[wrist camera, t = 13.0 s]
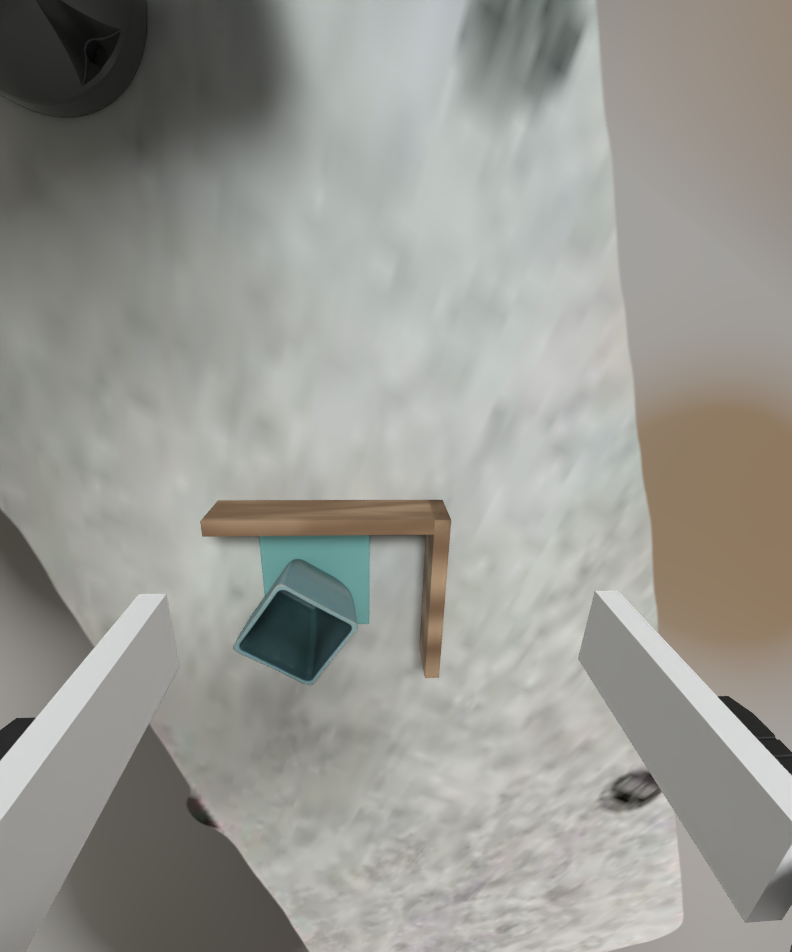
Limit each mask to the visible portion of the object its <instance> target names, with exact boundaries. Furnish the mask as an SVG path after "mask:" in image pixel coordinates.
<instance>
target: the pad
mask: <svg viewBox="0 0 792 952" xmlns="http://www.w3.org/2000/svg"><path fill="white" fill-rule="evenodd" d="M259 540H260V551H261V561H262V572H263V582H264V592H265V595H266V594H267V593H268V591H269V590H270V588H271V587H272V586H273V584H274V583H275V581H276V580H277V579H278V577H279V576H280V574H281V573H282V571H283V570H284V569H285V567H286V566H287V565H288V564H289V562H291V561H292V560H295V559H301V560H304V561H306V562H308V563H310V564H311V565H313V566H315V567H317V568H319V569H320V570H322V571H324V572H326V573H328V574H330V575H331V576H333V577H335V578H336V579H338V580H339V581H341V582H342V583H343V584H344V585H345V586H346V587H347V588H348V590H349V591H350V593H351V595H352V598H353V601H354V606H355V612H356V618H357V624H369V535H319V536H259Z"/></svg>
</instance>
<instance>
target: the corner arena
mask: <svg viewBox="0 0 792 952" xmlns="http://www.w3.org/2000/svg"><path fill="white" fill-rule="evenodd" d="M200 523H201V530H202V536H319V535H426V544H425V562H424V579H423V597H422V615H421V633H420V651H421V657H422V663H423V669H424V675H425V678H438V677H439V669H440V656H441V643H442V630H443V617H444V604H445V592H446V579H447V566H448V553H449V540H450V527H451V519H450V516H449V514H448V512H447V509H446V507H445V505H444V503H443V500H253V501H217V503H216V504H215V505H214V506H213V507H212V508H211V509H210V511H209V512H208V513H207V514H206V515H205V516H204V518H203V519H202V520H201V521H200Z"/></svg>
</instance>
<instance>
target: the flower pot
mask: <svg viewBox="0 0 792 952" xmlns="http://www.w3.org/2000/svg"><path fill="white" fill-rule="evenodd" d="M357 628H358V624H357V618H356V612H355V606H354V601H353V598H352V595H351V593H350V591H349V590H348V588H347V587H346V586H345V585H344V584H343V583H342V582H341V581H339V580H338V579H336V578H335V577H333V576H331V575H330V574H328V573H326V572H324V571H322V570H320V569H319V568H317V567H315V566H313V565H311V564H310V563H308V562H306V561H304V560H301V559H295V560H292V561H291V562H289V564H288V565H287V566H286V567H285V569H284V570H283V571H282V573H281V574H280V576H279V577H278V579H277V580H276V581H275V583H274V584H273V586H272V587H271V588H270V590H269V591H268V593H267V594H266V595H265V597H264V598H263V600H262V601H261V602H260V604H259V605H258V607H257V608H256V609H255V611H254V612H253V613H252V615H251V616H250V618H249V620H248V622H247V623H246V625H245V627H244V628H243V630H242V632H241V634H240V635H239V637H238V639H237V641H236V642H235V644H234V646H233V649H234V650H235V651H237V652H238V653H240V654H242V655H244V656H246V657H248V658H251V659H253V660H255V661H258V662H260V663H262V664H264V665H266V666H268V667H270V668H273V669H275V670H277V671H279V672H281V673H283V674H285V675H287V676H289V677H291V678H293V679H295V680H297V681H299V682H301V683H303V684H307V685H313V684H314V683H315V681H316V680H317V679H318V678H319V677H320V675H321V674H322V673H323V671H324V670H325V668H326V667H327V666H328V665H329V663H330V662H331V661H332V659H333V658H334V657H335V656H336V655H337V653H338V652H339V651H340V650H341V648H342V647H343V646H344V645H345V643H346V642H347V641H348V640H349V639H350V637H351V636H352V635H353V634H354V633H355V632H356V630H357Z"/></svg>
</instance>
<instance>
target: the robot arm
mask: <svg viewBox="0 0 792 952" xmlns="http://www.w3.org/2000/svg"><path fill="white" fill-rule="evenodd" d="M146 29H147V6H146V0H0V94H2V95H3V96H5V97H6V98H8V99H10V100H12V101H13V102H15V103H17V104H19V105H21V106H23V107H25V108H28V109H30V110H33V111H36V112H39V113H42V114H46V115H51V116H59V117H75V116H82V115H86V114H90V113H93V112H95V111H98V110H100V109H102V108H104V107H105V106H107V105H109V104H110V103H111V102H113V101H114V100H115V99H116V98H117V97H118V96H119V95H120V94H121V93H122V92H123V91H124V90H125V89H126V87H127V86H128V85H129V83H130V82H131V80H132V78H133V77H134V75H135V73H136V70H137V68H138V66H139V63H140V60H141V57H142V54H143V49H144V45H145V39H146ZM578 659H579V661H580V663H581V664H582V666H583V667H584V669H585V670H586V672H587V674H588V675H589V677H590V678H591V680H592V682H593V683H594V685H595V686H596V688H597V689H598V691H599V693H600V694H601V696H602V697H603V699H604V701H605V702H606V704H607V705H608V707H609V708H610V710H611V712H612V713H613V715H614V716H615V718H616V719H617V721H618V723H619V724H620V726H621V727H622V729H623V731H624V732H625V734H626V735H627V737H628V738H629V740H630V742H631V743H632V745H633V746H634V748H635V750H636V751H637V753H638V754H639V756H640V757H641V759H642V761H643V762H644V764H645V765H646V767H647V768H648V770H649V772H650V773H651V775H652V776H653V778H654V780H655V781H656V783H657V784H658V786H659V787H660V789H661V791H662V792H663V794H664V795H665V797H666V799H667V800H668V802H669V803H670V805H671V806H672V808H673V810H674V811H675V813H676V814H677V816H678V817H679V819H680V821H681V822H682V823H683V825H684V827H685V829H686V830H687V832H688V833H689V835H690V836H691V838H692V839H693V841H694V843H695V844H696V846H697V848H698V849H699V851H700V852H701V854H702V855H703V857H704V859H705V860H706V862H707V863H708V865H709V866H710V868H711V870H712V871H713V873H714V874H715V876H716V878H717V879H718V881H719V882H720V884H721V885H722V887H723V889H724V890H725V892H726V893H727V895H728V897H729V898H730V900H731V901H732V903H733V904H734V906H735V908H736V909H737V911H738V912H739V914H740V915H741V917H742V919H743V920H744V922H745V923H747V922H760V921H773V920H782V919H783V917H784V916H785V914H786V913H787V911H788V910H789V908H790V906H791V905H792V752H791V751H790V750H789V749H788V748H787V747H786V746H785V745H784V744H783V743H782V742H781V741H780V740H777V739H776V738H775V735H774V734H773V733H772V732H771V731H770V730H769V729H768V728H767V727H766V726H765V725H764V724H763V723H762V722H761V721H760V720H759V719H758V718H757V717H756V716H755V715H754V714H753V713H752V712H750V711H749V710H747V709H746V708H744V707H743V706H742V705H740V704H739V703H737V702H736V701H734V700H733V699H732V698H730V697H729V696H716V695H715V694H714V692H713V691H712V690H711V689H710V688H709V687H708V686H707V685H706V684H705V683H704V682H703V681H702V680H701V679H700V678H699V676H698V675H697V674H696V673H695V672H694V671H693V670H692V669H691V668H690V667H689V666H688V665H687V664H686V663H685V662H684V661H683V660H682V658H681V657H680V656H679V655H678V654H677V653H676V652H675V651H674V650H673V649H672V648H671V647H670V646H669V645H668V644H667V642H666V641H664V639H663V638H662V637H661V636H660V635H659V634H658V633H657V632H656V631H655V630H654V629H653V628H652V627H651V625H650V624H649V623H648V622H647V621H646V620H645V619H644V618H643V617H642V616H641V615H640V614H639V613H638V612H637V611H636V610H635V608H634V607H633V606H632V605H631V604H630V603H629V602H628V601H627V600H626V599H625V598H624V597H623V596H622V595H621V594H620V593H619V591H595V593H594V597H593V601H592V605H591V609H590V613H589V617H588V621H587V625H586V629H585V633H584V637H583V641H582V645H581V649H580V653H579V657H578ZM178 669H179V662H178V656H177V650H176V645H175V639H174V634H173V628H172V623H171V617H170V611H169V606H168V600H167V595H166V594H139V595H138V596H137V597H136V598H135V599H134V601H133V602H132V603H131V604H130V606H129V607H128V608H127V609H126V610H125V612H124V613H123V614H122V615H121V616H120V618H119V619H118V620H117V621H116V622H115V624H114V625H113V626H112V627H111V628H110V630H109V631H108V632H107V633H106V634H105V636H104V637H103V638H102V639H101V640H100V642H99V643H98V644H97V645H96V646H95V648H94V649H93V650H92V651H91V653H90V654H89V655H88V656H87V657H86V658H85V660H84V661H83V662H82V663H81V664H80V666H79V667H78V668H77V669H76V671H75V672H74V673H73V674H72V675H71V677H70V678H69V679H68V680H67V682H65V684H64V685H63V686H62V687H61V688H60V690H59V691H58V692H57V693H56V695H55V696H54V697H53V698H52V699H51V701H50V702H49V703H48V704H47V705H46V707H45V708H44V709H43V710H42V711H41V713H40V714H39V715H38V716H37V717H36V718H16V719H15V720H13V721H12V722H11V723H9V724H8V725H7V726H5V727H4V728H3V729H1V730H0V952H26V951H27V949H28V947H29V945H30V943H31V941H32V939H33V938H34V936H35V934H36V932H37V930H38V928H39V927H40V925H41V923H42V921H43V919H44V917H45V916H46V914H47V912H48V910H49V908H50V906H51V904H52V903H53V901H54V899H55V897H56V895H57V893H58V891H59V889H60V888H61V886H62V884H63V882H64V880H65V878H66V876H67V875H68V873H69V871H70V869H71V867H72V865H73V863H74V861H75V860H76V858H77V856H78V854H79V852H80V850H81V849H82V847H83V845H84V843H85V841H86V839H87V837H88V836H89V834H90V832H91V830H92V828H93V826H94V824H95V823H96V820H97V819H98V817H99V815H100V813H101V811H102V809H103V808H104V806H105V804H106V802H107V800H108V799H109V796H110V795H111V793H112V791H113V789H114V787H115V786H116V784H117V782H118V780H119V778H120V776H121V774H122V773H123V771H124V769H125V767H126V765H127V763H128V761H129V760H130V758H131V756H132V754H133V752H134V750H135V748H136V746H137V745H138V743H139V741H140V739H141V737H142V735H143V734H144V732H145V730H146V728H147V726H148V724H149V722H150V721H151V719H152V717H153V715H154V713H155V711H156V709H157V708H158V706H159V704H160V702H161V700H162V698H163V696H164V695H165V693H166V691H167V689H168V687H169V685H170V683H171V682H172V680H173V678H174V676H175V674H176V672H177V670H178ZM790 952H792V945H791V950H790Z"/></svg>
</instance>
